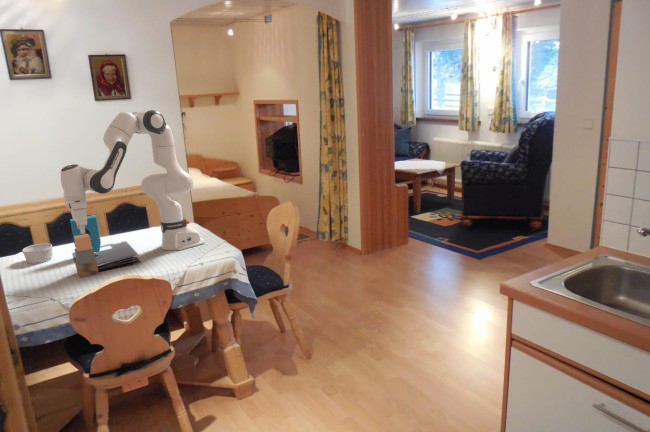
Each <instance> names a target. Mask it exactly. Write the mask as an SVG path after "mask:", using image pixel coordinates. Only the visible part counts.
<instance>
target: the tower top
mask: <svg viewBox="0 0 650 432" xmlns="http://www.w3.org/2000/svg"><path fill="white" fill-rule="evenodd" d="M74 253H75V261H77V262H78V264H79V265H82V264H87V263H92V262H96V261H97V259H96V256H95V254H94V249H93V248H92V249H91V250H86V251H80V252H78V251H77V249H76V248H74Z"/></svg>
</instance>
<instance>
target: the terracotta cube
mask: <svg viewBox="0 0 650 432" xmlns="http://www.w3.org/2000/svg"><path fill="white" fill-rule="evenodd" d="M74 239H75V244H74V246H75V245H76V247H75V249H77V251H78V252H80V251H86V250H91V249H92V245H91V239H90V233H85V234H83V235H78V236H74ZM74 239H73V240H74Z"/></svg>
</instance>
